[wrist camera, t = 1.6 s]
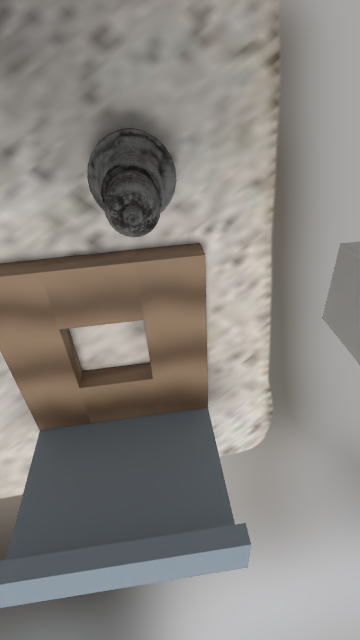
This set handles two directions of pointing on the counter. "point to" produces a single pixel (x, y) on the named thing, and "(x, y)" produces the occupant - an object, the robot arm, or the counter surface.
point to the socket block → (97, 309)
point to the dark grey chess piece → (131, 180)
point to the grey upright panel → (122, 509)
